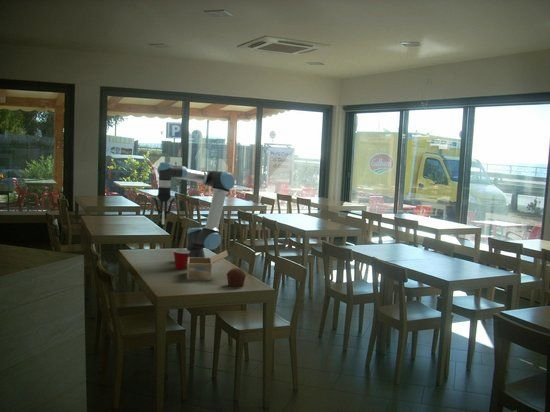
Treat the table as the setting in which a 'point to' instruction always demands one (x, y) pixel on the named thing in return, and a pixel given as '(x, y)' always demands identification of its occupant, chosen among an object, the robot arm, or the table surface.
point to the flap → (219, 256)
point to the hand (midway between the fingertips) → (163, 224)
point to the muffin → (236, 277)
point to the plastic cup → (180, 258)
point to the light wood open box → (199, 268)
